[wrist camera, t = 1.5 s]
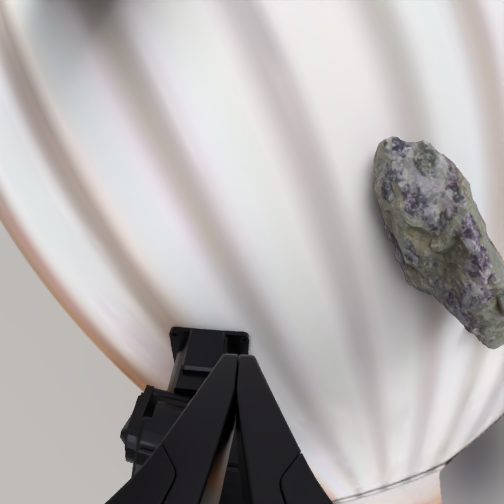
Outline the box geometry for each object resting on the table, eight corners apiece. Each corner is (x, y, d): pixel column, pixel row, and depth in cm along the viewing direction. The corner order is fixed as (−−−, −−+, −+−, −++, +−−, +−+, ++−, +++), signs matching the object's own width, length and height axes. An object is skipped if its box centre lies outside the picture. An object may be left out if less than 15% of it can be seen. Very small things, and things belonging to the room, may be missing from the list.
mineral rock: (360, 131, 17) (446, 174, 9) (491, 126, 16) (593, 167, 7) (368, 300, 23) (408, 405, 15) (477, 276, 22) (537, 355, 13)
